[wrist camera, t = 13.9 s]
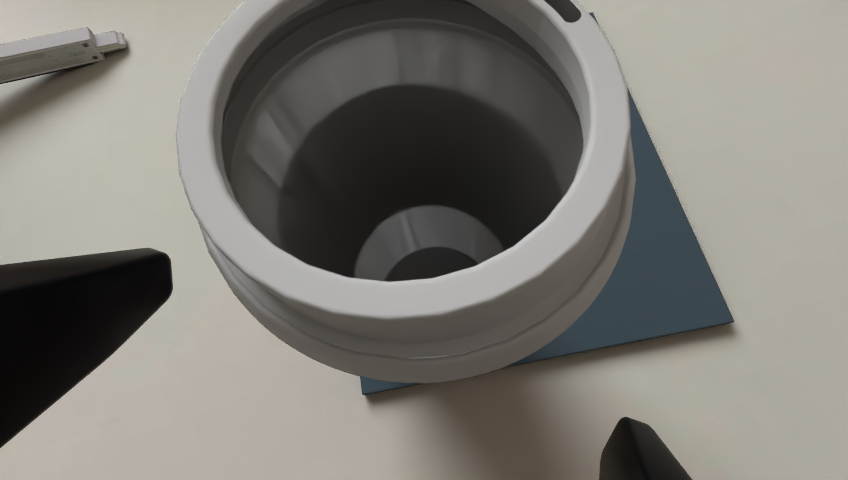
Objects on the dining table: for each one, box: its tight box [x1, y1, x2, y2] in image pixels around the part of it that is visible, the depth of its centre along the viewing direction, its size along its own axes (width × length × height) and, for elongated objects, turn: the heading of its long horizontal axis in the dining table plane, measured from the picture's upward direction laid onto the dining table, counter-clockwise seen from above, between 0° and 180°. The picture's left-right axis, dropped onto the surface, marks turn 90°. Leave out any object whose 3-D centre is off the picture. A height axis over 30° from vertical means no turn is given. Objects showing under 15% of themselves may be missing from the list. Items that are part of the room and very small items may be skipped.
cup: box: [176, 0, 636, 383], centre depth 11 cm, size 7×7×12 cm
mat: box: [360, 13, 734, 395], centre depth 19 cm, size 16×14×1 cm
